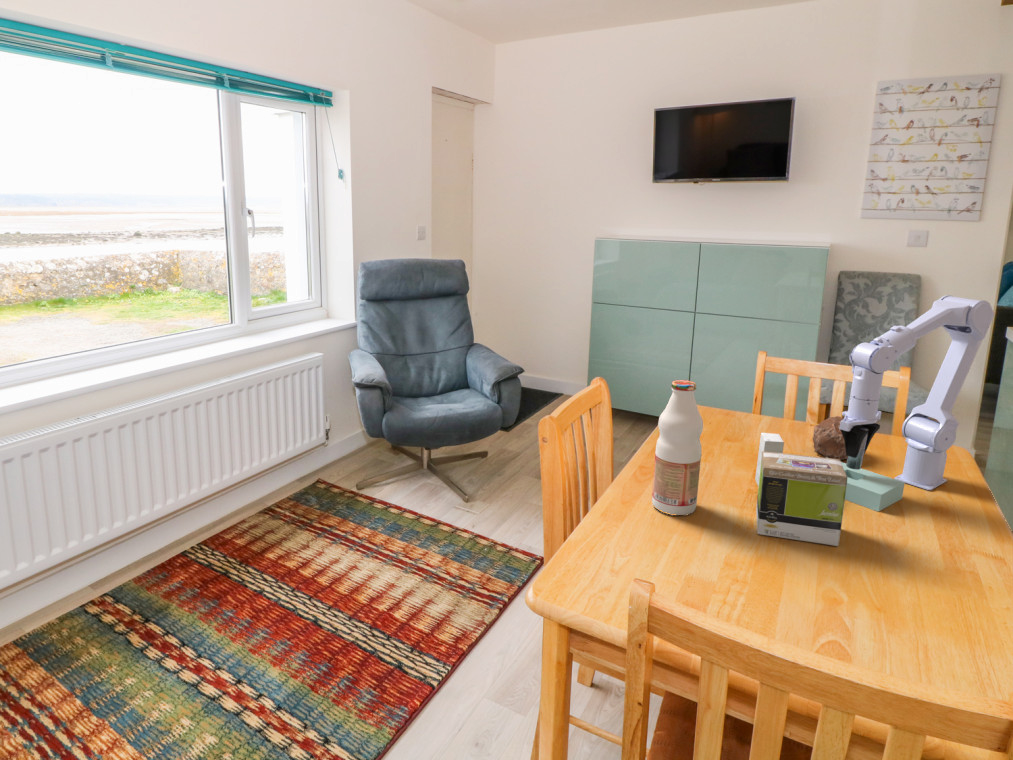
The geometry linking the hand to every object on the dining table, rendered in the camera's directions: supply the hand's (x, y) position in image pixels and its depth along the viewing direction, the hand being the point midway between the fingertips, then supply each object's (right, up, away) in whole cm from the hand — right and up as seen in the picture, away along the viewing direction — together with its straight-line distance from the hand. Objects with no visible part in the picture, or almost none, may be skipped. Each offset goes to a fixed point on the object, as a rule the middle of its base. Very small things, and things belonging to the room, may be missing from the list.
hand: (855, 454), depth 149 cm
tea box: (-21, -14, -16) cm, 30 cm away
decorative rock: (+7, -3, +24) cm, 25 cm away
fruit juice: (-43, -11, -7) cm, 45 cm away
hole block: (0, -9, +2) cm, 9 cm away
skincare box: (-18, -8, +5) cm, 21 cm away
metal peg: (0, -3, +1) cm, 3 cm away
